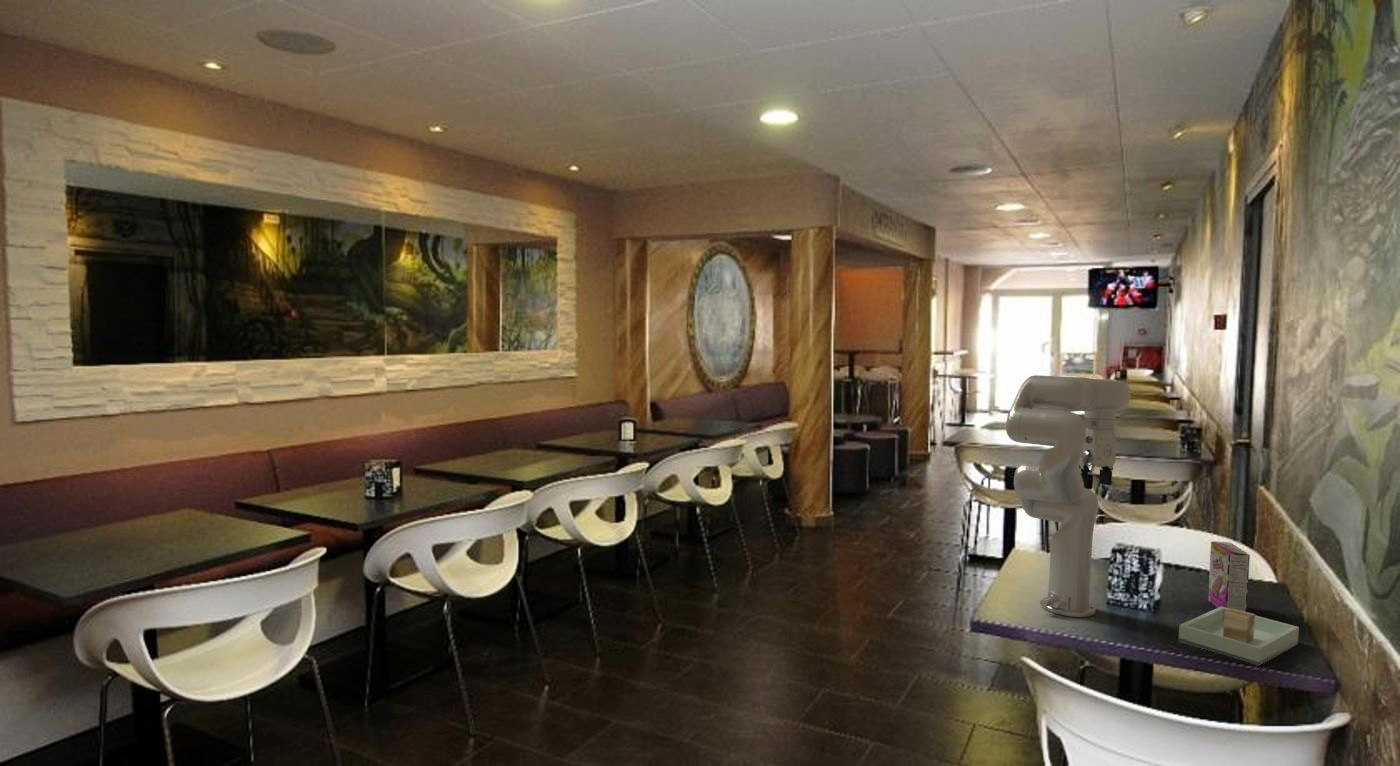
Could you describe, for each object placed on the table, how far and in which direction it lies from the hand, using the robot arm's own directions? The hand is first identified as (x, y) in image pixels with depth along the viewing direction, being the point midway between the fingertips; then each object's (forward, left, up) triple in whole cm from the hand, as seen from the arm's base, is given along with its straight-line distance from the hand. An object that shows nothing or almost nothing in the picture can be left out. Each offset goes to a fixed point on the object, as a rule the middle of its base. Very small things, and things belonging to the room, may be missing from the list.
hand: (1095, 486), depth 219 cm
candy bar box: (+12, -29, -28) cm, 42 cm away
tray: (-10, -40, -28) cm, 50 cm away
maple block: (-10, -40, -27) cm, 49 cm away
